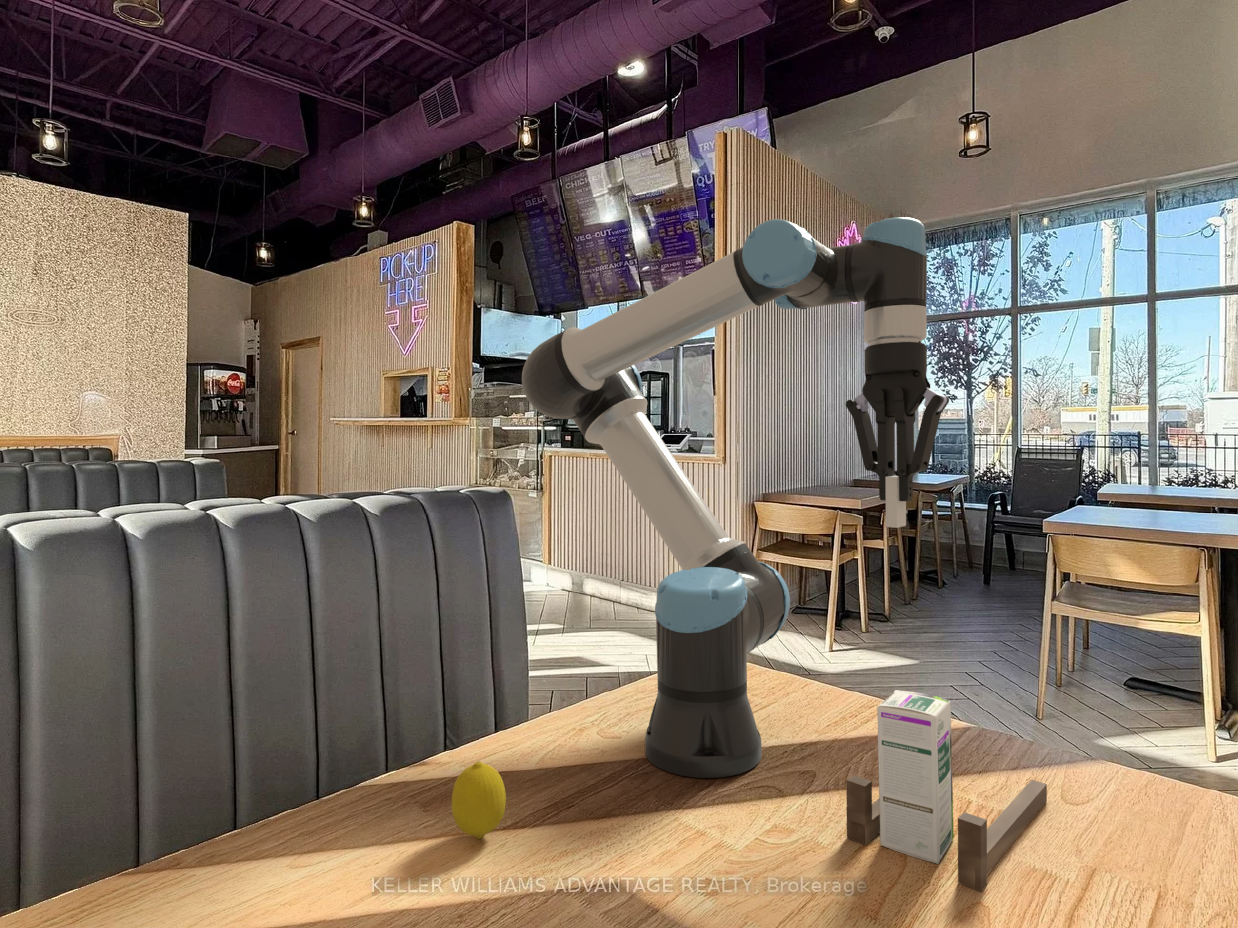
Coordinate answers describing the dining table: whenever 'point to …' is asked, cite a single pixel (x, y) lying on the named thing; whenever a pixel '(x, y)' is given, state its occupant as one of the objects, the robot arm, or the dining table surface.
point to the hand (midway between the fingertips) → (895, 526)
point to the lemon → (478, 800)
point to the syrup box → (915, 774)
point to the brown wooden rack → (974, 839)
